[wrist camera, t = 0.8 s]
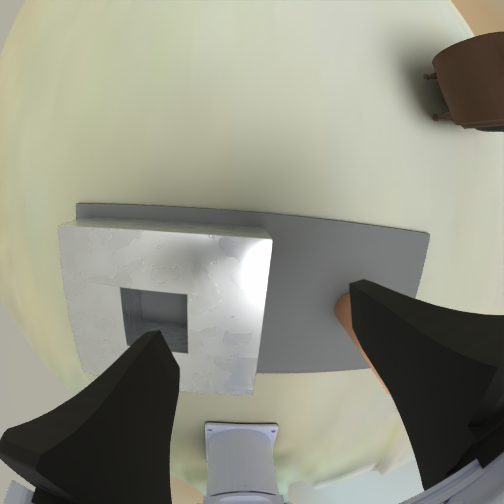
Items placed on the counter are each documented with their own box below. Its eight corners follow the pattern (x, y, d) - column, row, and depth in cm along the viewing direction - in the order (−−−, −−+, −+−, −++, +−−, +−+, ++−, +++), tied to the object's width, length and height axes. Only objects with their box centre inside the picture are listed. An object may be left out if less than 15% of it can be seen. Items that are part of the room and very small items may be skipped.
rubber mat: (389, 363, 24) (391, 365, 24) (95, 350, 22) (93, 352, 21) (427, 233, 21) (430, 234, 20) (78, 203, 18) (76, 203, 18)
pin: (361, 322, 22) (415, 390, 13) (331, 322, 22) (378, 398, 13) (369, 291, 21) (434, 351, 12) (338, 290, 21) (396, 358, 12)
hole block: (249, 364, 22) (252, 395, 19) (100, 346, 21) (83, 371, 17) (264, 227, 19) (272, 239, 16) (85, 216, 18) (57, 225, 14)
